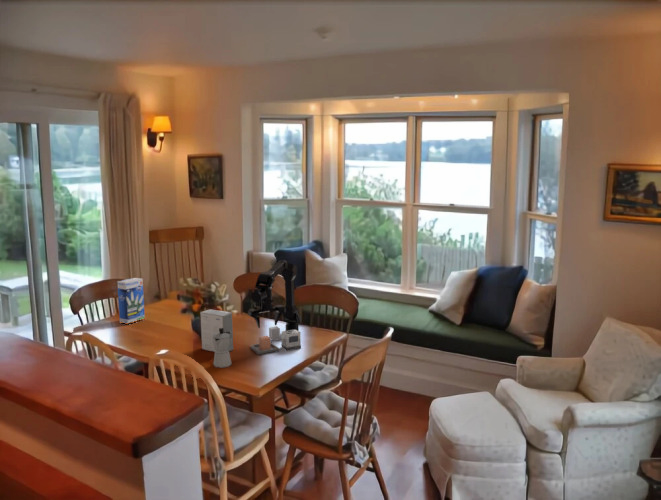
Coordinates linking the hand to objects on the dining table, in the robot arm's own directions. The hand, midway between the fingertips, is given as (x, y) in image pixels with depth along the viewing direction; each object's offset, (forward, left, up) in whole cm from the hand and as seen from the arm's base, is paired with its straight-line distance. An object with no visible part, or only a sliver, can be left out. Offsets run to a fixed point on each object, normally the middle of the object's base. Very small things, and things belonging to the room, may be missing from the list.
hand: (267, 326), depth 293 cm
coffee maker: (+27, +11, -12) cm, 32 cm away
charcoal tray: (+3, +3, -11) cm, 12 cm away
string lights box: (+55, -81, -12) cm, 99 cm away
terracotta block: (+3, +3, -11) cm, 11 cm away
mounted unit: (-11, +6, -12) cm, 17 cm away
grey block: (-9, -12, -12) cm, 19 cm away
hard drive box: (+24, -9, -12) cm, 28 cm away
